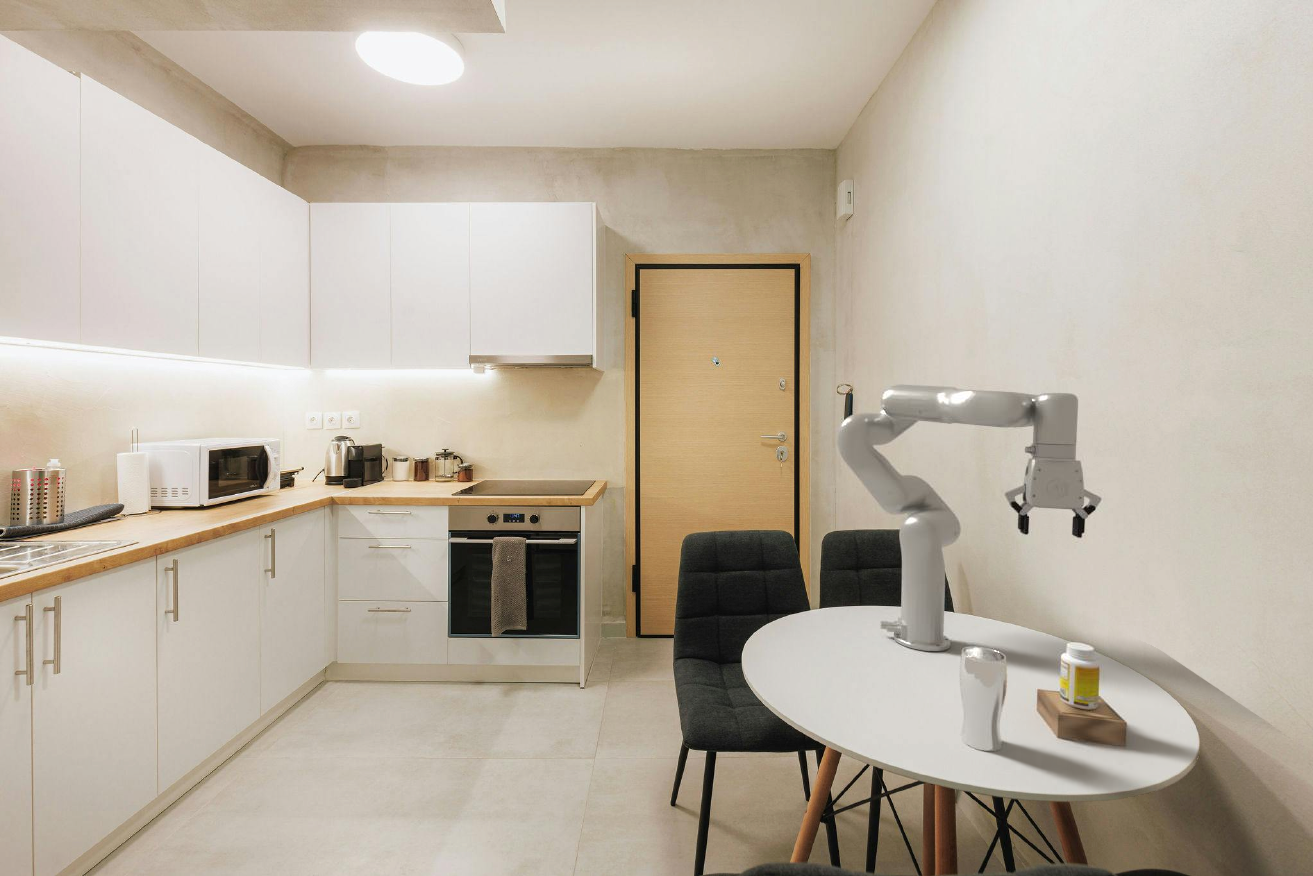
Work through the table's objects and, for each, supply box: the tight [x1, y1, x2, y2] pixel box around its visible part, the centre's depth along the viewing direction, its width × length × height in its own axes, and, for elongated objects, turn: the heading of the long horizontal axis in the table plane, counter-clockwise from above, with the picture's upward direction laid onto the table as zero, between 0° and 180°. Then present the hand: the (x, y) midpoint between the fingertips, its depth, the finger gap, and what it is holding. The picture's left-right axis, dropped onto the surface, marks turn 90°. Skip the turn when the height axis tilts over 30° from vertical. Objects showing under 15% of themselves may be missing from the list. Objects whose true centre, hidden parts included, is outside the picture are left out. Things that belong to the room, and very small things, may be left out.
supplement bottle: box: [1059, 641, 1100, 710], centre depth 106 cm, size 6×6×10 cm
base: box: [1036, 688, 1128, 747], centre depth 106 cm, size 10×10×4 cm
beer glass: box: [959, 645, 1008, 752], centre depth 101 cm, size 7×7×15 cm
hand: (1050, 535), depth 126 cm, fingers open, 9 cm apart
